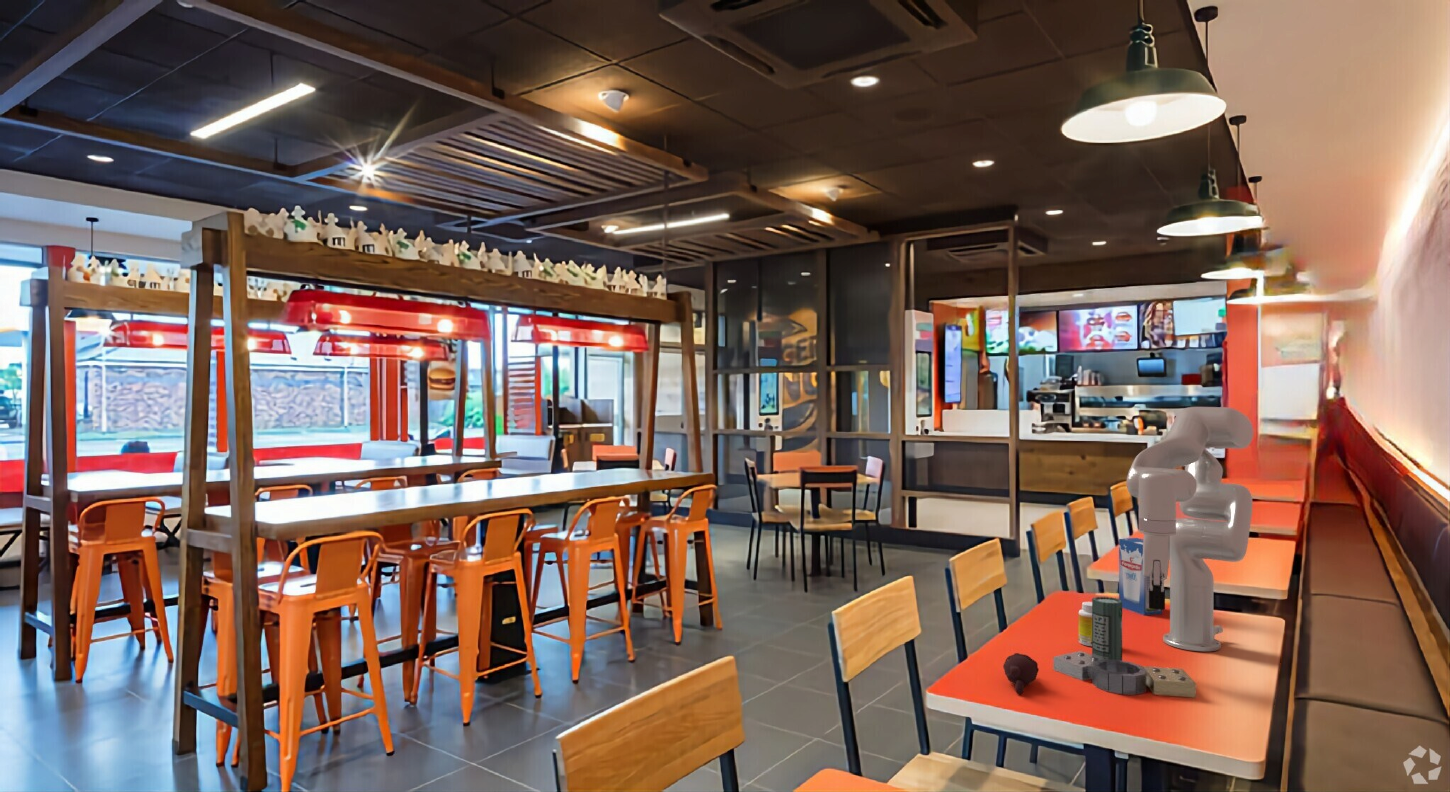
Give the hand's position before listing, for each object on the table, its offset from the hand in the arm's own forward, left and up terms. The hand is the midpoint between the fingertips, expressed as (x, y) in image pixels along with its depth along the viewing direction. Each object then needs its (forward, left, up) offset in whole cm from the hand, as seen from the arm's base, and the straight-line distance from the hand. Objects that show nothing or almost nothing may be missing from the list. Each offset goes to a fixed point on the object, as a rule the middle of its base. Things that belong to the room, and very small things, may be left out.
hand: (1157, 607), depth 187 cm
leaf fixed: (+14, -3, -15) cm, 21 cm away
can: (+4, -10, -15) cm, 19 cm away
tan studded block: (+6, +7, -15) cm, 18 cm away
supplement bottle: (-5, -22, -15) cm, 27 cm away
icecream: (+32, -10, -15) cm, 37 cm away
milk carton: (-44, -37, -15) cm, 59 cm away
